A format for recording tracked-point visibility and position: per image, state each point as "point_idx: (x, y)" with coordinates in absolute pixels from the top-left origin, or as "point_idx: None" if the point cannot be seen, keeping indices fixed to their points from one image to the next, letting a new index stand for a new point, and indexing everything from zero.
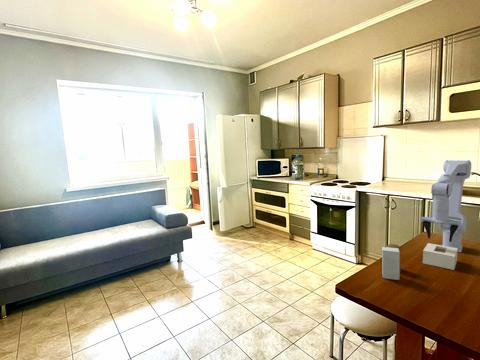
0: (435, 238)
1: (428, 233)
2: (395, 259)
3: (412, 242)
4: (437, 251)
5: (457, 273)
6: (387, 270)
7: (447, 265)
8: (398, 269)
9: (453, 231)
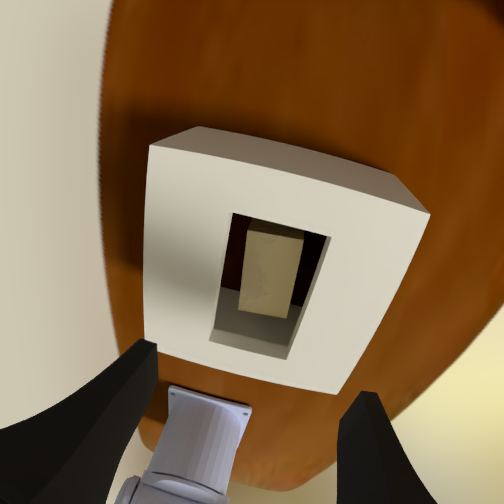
0: (261, 469)
1: (386, 444)
2: None
3: None
4: (284, 298)
5: (182, 79)
6: None
7: (231, 137)
8: None
9: (30, 434)
